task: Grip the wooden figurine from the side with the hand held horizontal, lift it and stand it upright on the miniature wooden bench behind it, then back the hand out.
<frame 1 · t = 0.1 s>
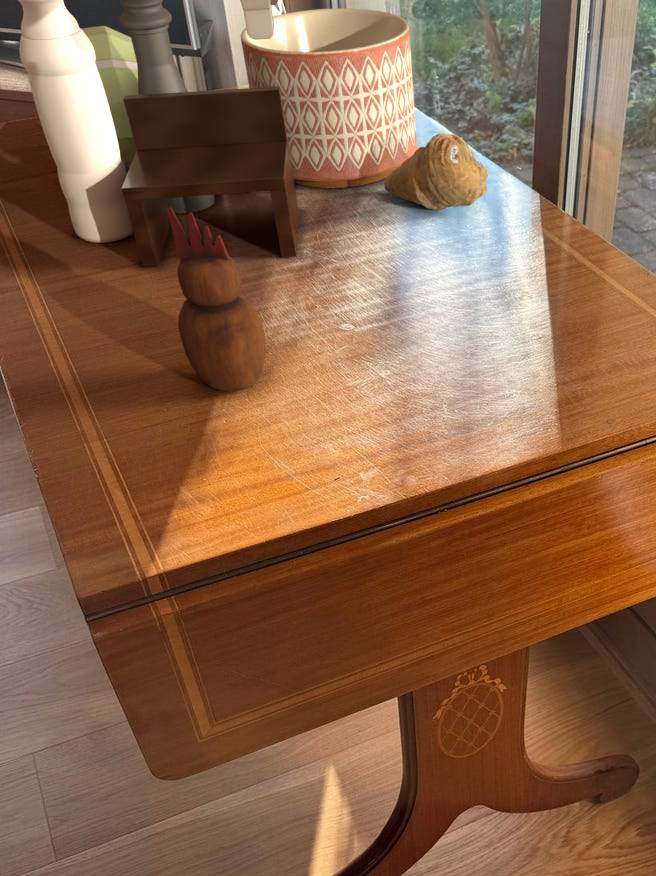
hand: (265, 19, 71), 26 cm above the table, tool pointing down, fingers open, 8 cm apart
candle holder: (188, 204, 115), on the table
planter: (341, 166, 122), on the table
water bottle: (109, 233, 109), on the table
wooden figurine: (233, 383, 86), on the table
miniature wooden bench: (224, 238, 107), on the table
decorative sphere: (126, 169, 123), on the table
seashell: (438, 207, 112), on the table
figurine: (273, 128, 133), on the table
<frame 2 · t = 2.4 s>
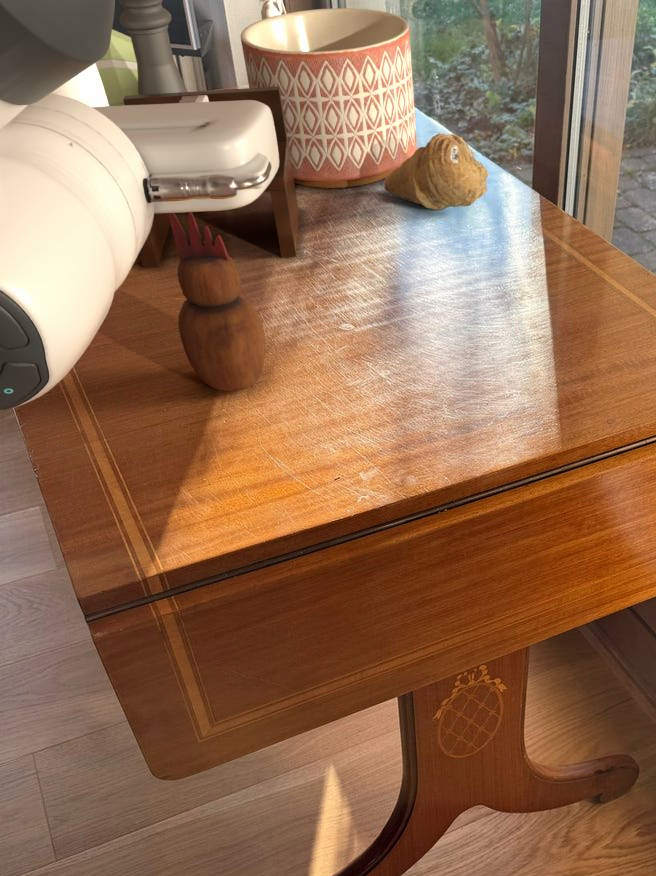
hand: (121, 113, 60), 25 cm above the table, tool horizontal, fingers open, 8 cm apart
nothing on the table moved.
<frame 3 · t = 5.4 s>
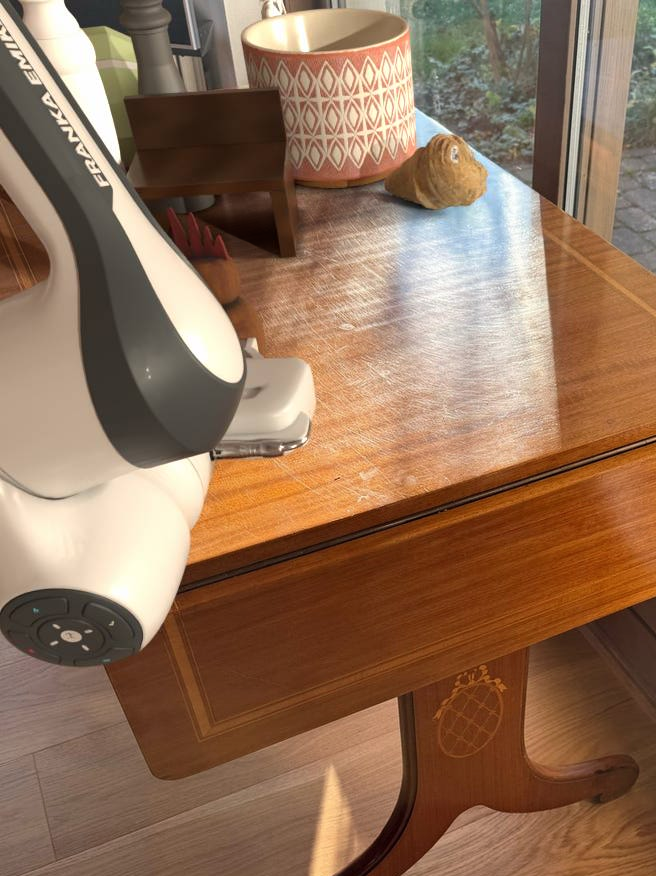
hand: (182, 349, 71), 9 cm above the table, tool horizontal, fingers open, 8 cm apart
nothing on the table moved.
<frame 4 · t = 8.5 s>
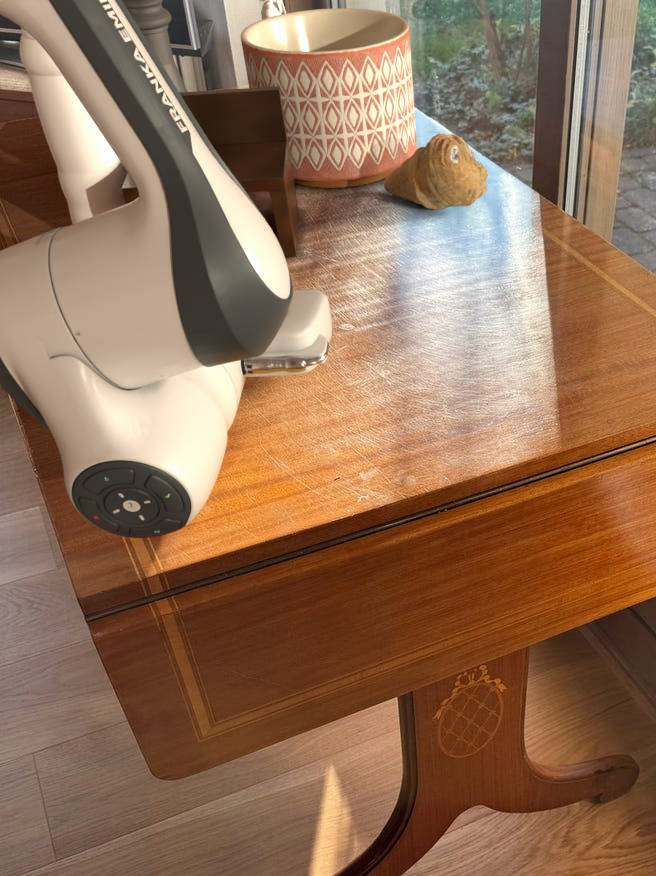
hand: (213, 285, 80), 8 cm above the table, tool horizontal, fingers closed on wooden figurine, 5 cm apart
wooden figurine: (233, 383, 86), on the table, touching gripper
everything else where it was.
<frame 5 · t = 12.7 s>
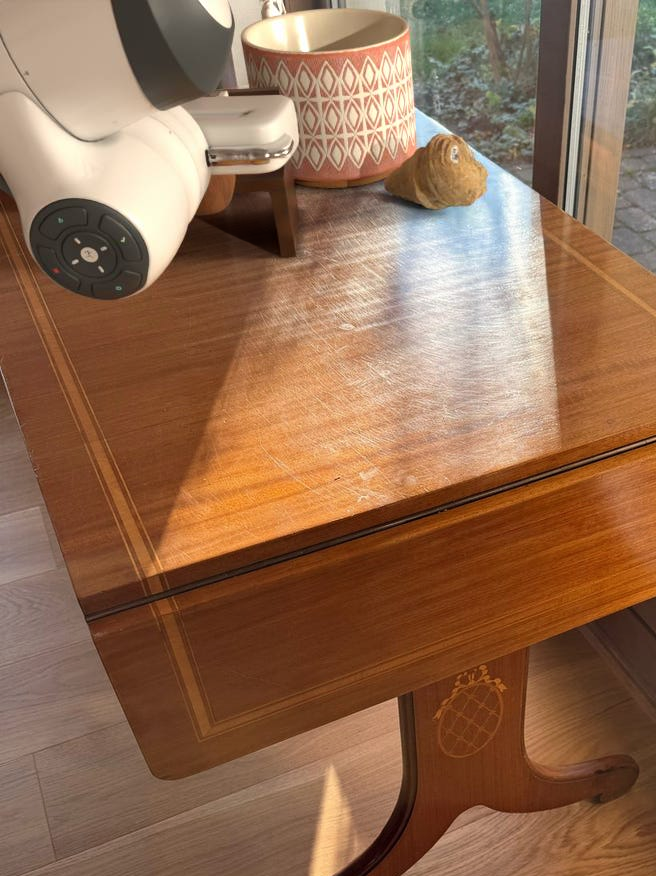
hand: (183, 102, 81), 19 cm above the table, tool horizontal, fingers closed on wooden figurine, 5 cm apart
wooden figurine: (203, 211, 86), point 10 cm above the table, touching gripper
everything else where it was.
when the fingers open (16 cm above the table, at t = 17.2 s): wooden figurine stays where it is, resting on miniature wooden bench.
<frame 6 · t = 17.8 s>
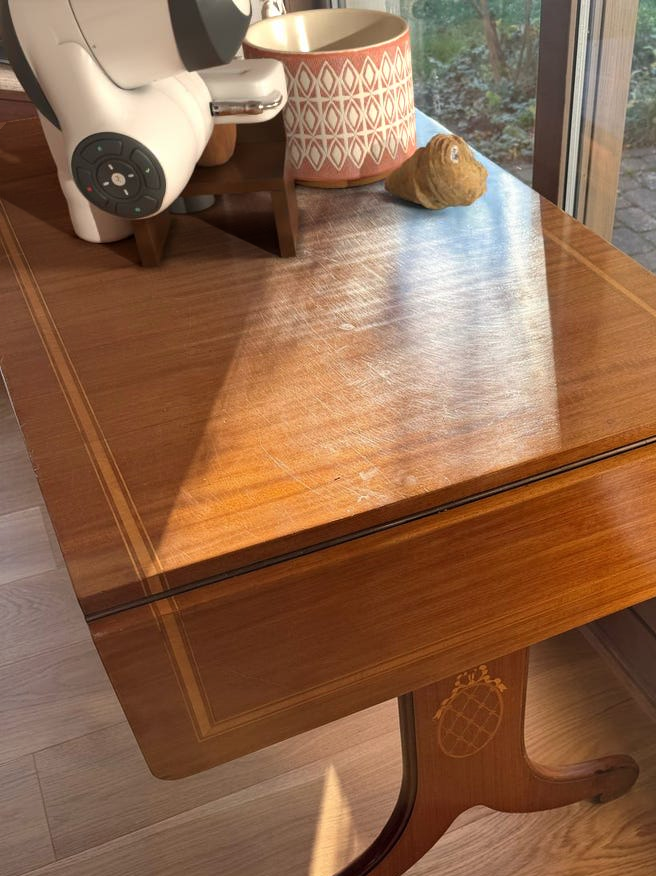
hand: (189, 67, 96), 17 cm above the table, tool horizontal, fingers open, 8 cm apart
wooden figurine: (209, 163, 102), point 8 cm above the table, touching miniature wooden bench
everything else where it was.
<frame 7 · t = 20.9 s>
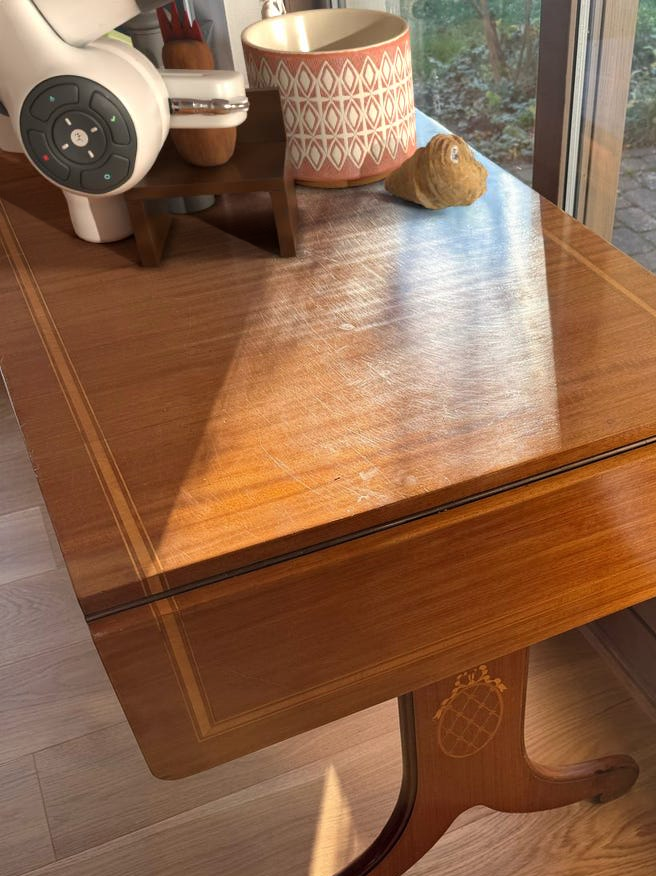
hand: (128, 86, 86), 18 cm above the table, tool horizontal, fingers open, 8 cm apart
nothing on the table moved.
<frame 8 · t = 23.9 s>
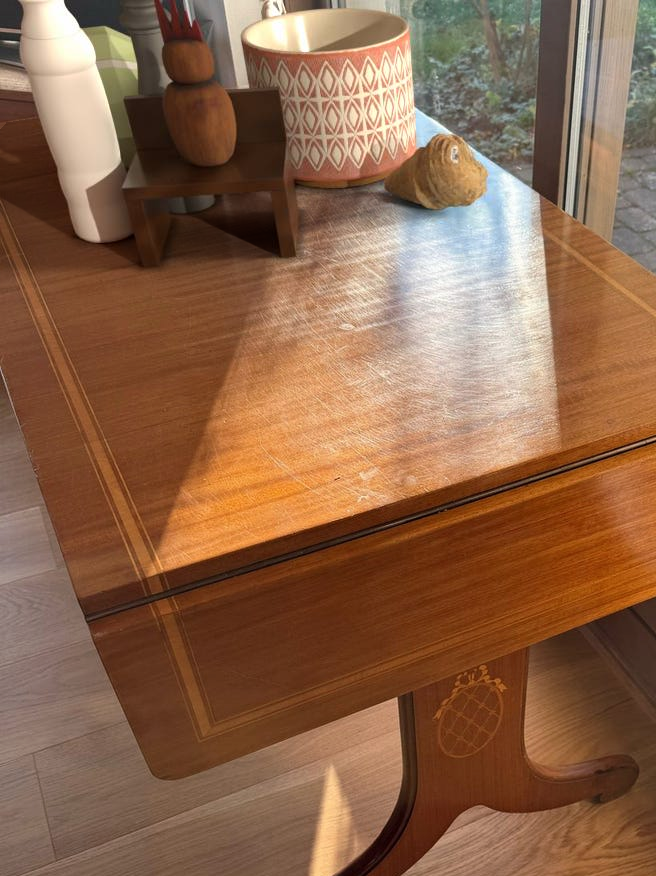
nothing on the table moved.
at the end: wooden figurine inside the target area on the miniature wooden bench (0.4 cm from its centre), point 7.8 cm above the miniature wooden bench's base; wooden figurine tilted 0°; the gripper is holding nothing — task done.
